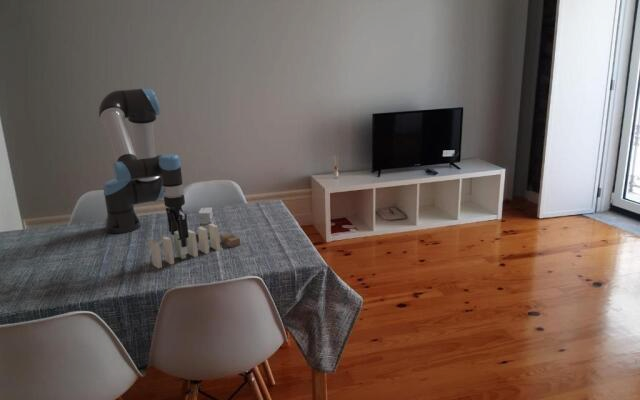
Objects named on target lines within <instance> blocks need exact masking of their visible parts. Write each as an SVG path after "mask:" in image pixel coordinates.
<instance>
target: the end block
mask: <svg viewBox="0 0 640 400" xmlns="http://www.w3.org/2000/svg"><path fill="white" fill-rule="evenodd" d="M219 238H220V242H221V244H224V245H226V246H228V247H229V248H232V249H233V248H235V247H239V246H241V240H240V238H239V237H237V236H235V235H234V234H231V233H229V232H228V233H224V234H221V235H220V234H219Z"/></svg>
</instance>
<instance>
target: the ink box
mask: <svg viewBox="0 0 640 400" xmlns="http://www.w3.org/2000/svg"><path fill="white" fill-rule="evenodd" d="M198 219H199V227H203V228H205V229H207V235H208V239H210V233H209V224H214V214H213V207H201V208H200V210H199V212H198ZM214 225H215V224H214Z"/></svg>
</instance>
